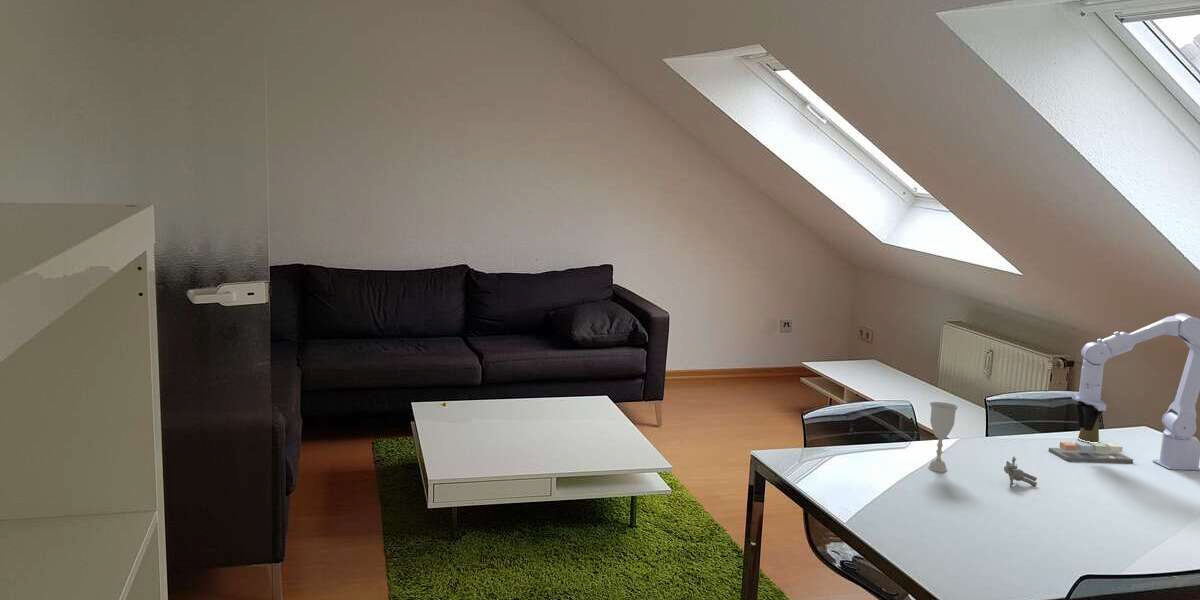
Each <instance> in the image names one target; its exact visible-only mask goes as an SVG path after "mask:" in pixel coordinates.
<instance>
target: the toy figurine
mask: <svg viewBox="0 0 1200 600" xmlns="http://www.w3.org/2000/svg"><path fill="white" fill-rule="evenodd" d="M1016 460H1017V458H1016V457H1015V455H1014V456H1012V458H1011V462H1012V463H1011V462H1010V461H1008V460H1007V461H1006V463H1005V466H1004V467H1003V471H1004V472H1005V474H1007V475H1008V478H1009V488H1012V487H1013V485H1014V484H1015V483H1014V480H1015V481H1016V482H1021V481H1022V482H1024V483H1027V484H1029V485H1031V486H1032V487H1036V486H1037V485H1038V482H1036V481H1037V480H1038V477H1037V476H1034V475H1031V474H1029V473H1026V472H1024V470H1022V469H1021V468H1018V464H1017V463H1016V464H1015V462H1016Z"/></svg>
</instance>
